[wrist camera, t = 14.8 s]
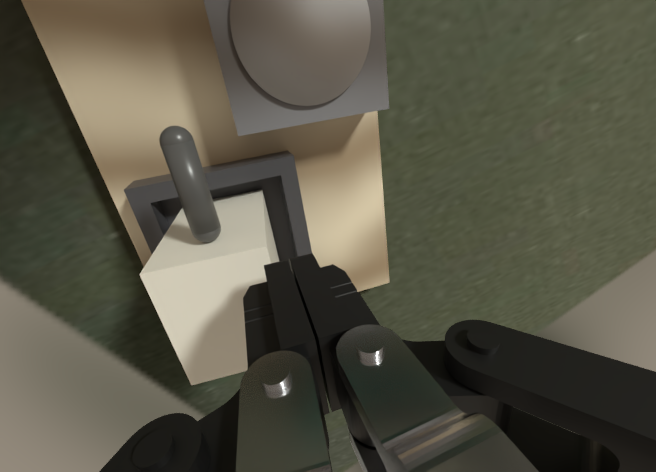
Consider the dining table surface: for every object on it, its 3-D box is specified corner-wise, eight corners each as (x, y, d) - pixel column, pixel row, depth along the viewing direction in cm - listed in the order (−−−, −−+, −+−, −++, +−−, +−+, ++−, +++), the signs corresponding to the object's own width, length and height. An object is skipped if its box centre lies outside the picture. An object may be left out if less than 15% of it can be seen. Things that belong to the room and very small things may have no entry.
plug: (154, 122, 14) (78, 144, 8) (242, 108, 15) (234, 118, 9) (216, 294, 19) (196, 396, 12) (283, 278, 19) (297, 368, 13)
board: (5, -73, 12) (-92, -147, 8) (349, -91, 15) (390, -153, 11) (182, 329, 21) (172, 379, 17) (380, 272, 23) (408, 304, 20)
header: (133, 180, 15) (123, 189, 14) (287, 150, 17) (293, 155, 15) (189, 314, 19) (186, 333, 17) (313, 279, 20) (319, 294, 19)
